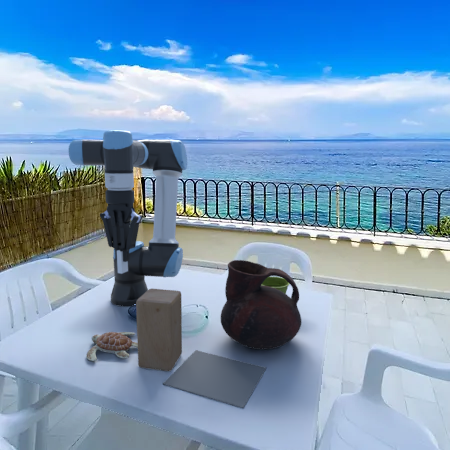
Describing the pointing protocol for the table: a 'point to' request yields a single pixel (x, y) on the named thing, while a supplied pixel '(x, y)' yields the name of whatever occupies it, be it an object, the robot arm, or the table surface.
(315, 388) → the table surface
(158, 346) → the wooden block
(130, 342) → the decorative turtle
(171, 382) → the mat
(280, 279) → the plant pot
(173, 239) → the robot arm
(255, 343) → the jug
